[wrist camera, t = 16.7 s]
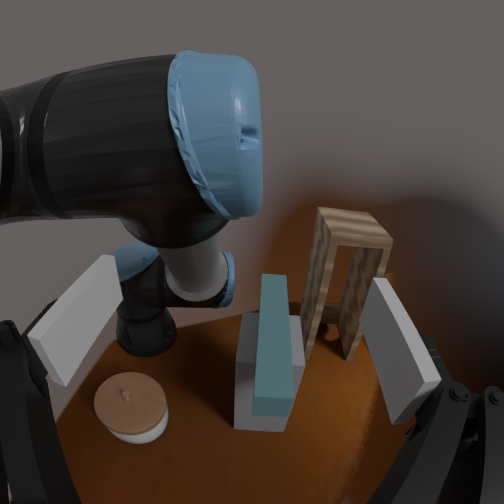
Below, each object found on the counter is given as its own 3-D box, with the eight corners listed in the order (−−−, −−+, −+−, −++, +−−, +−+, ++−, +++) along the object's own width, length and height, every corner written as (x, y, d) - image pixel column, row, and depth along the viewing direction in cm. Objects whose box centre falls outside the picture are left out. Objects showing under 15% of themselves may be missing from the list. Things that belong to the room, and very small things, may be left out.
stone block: (283, 431, 42) (305, 365, 34) (233, 428, 43) (235, 361, 34) (283, 388, 52) (299, 315, 43) (239, 385, 52) (242, 311, 43)
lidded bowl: (154, 464, 34) (137, 440, 29) (98, 432, 37) (75, 401, 32) (185, 414, 45) (177, 381, 40) (131, 390, 48) (117, 354, 43)
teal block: (287, 416, 26) (294, 398, 25) (251, 415, 27) (253, 396, 25) (283, 295, 48) (286, 275, 46) (260, 293, 48) (262, 273, 46)
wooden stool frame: (351, 360, 59) (393, 239, 45) (302, 360, 59) (331, 233, 46) (340, 320, 72) (368, 212, 59) (298, 318, 73) (317, 206, 59)
